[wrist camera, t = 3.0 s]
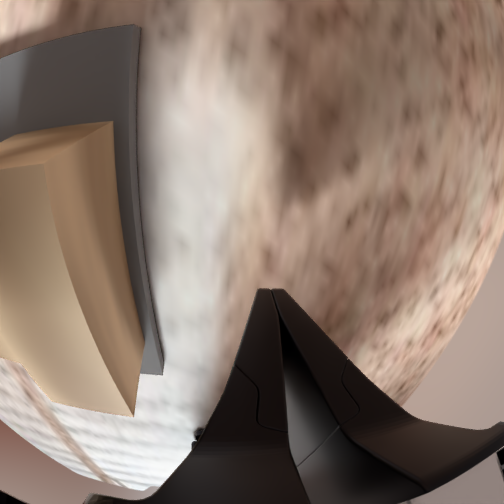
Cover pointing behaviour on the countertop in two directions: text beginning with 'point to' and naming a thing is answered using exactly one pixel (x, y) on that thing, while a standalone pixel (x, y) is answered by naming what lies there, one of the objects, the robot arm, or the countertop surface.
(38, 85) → the mat
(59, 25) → the countertop surface
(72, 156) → the tee block
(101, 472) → the countertop surface
